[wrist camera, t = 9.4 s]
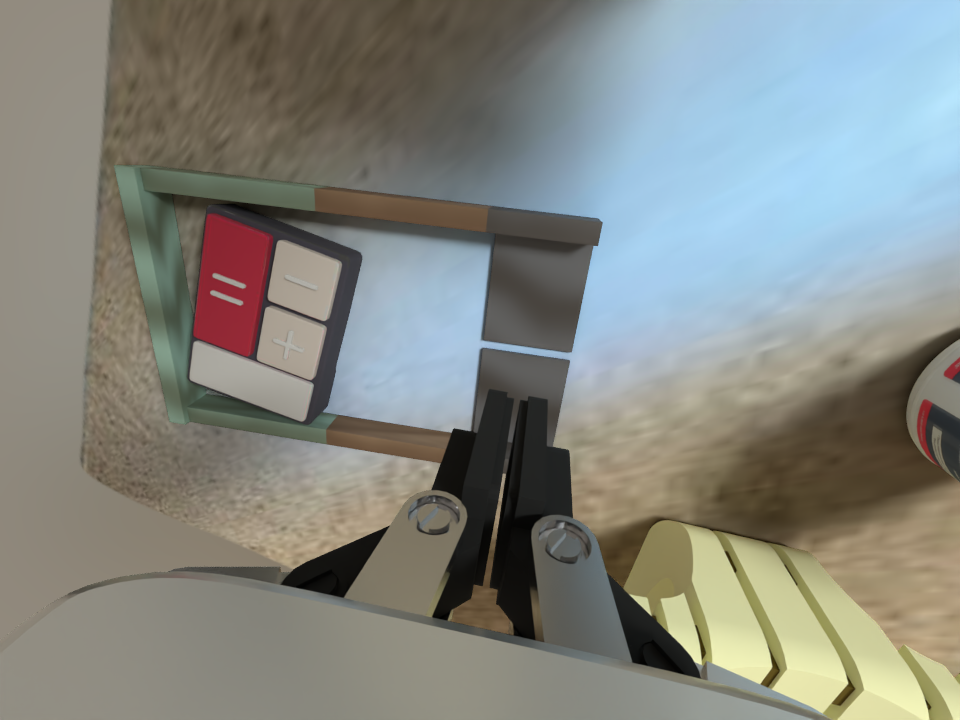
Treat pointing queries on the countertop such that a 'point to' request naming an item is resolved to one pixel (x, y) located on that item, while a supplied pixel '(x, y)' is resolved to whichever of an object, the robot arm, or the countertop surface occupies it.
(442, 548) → the robot arm
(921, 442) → the supplement tub
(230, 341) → the calculator
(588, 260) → the channel
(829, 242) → the countertop surface
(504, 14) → the countertop surface
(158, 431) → the countertop surface
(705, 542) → the slatted curved stool
